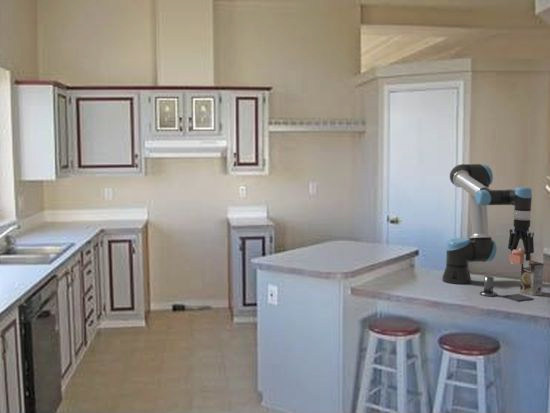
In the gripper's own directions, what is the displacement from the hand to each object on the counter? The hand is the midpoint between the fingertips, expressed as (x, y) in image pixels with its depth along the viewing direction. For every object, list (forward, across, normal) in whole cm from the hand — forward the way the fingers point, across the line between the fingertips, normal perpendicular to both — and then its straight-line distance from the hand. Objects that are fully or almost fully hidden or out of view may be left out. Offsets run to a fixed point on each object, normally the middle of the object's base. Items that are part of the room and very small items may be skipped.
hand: (519, 265), depth 314 cm
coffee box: (+17, -6, +14) cm, 23 cm away
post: (+16, -11, -9) cm, 22 cm away
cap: (-2, 0, 0) cm, 2 cm away
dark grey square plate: (+16, 0, 0) cm, 16 cm away
